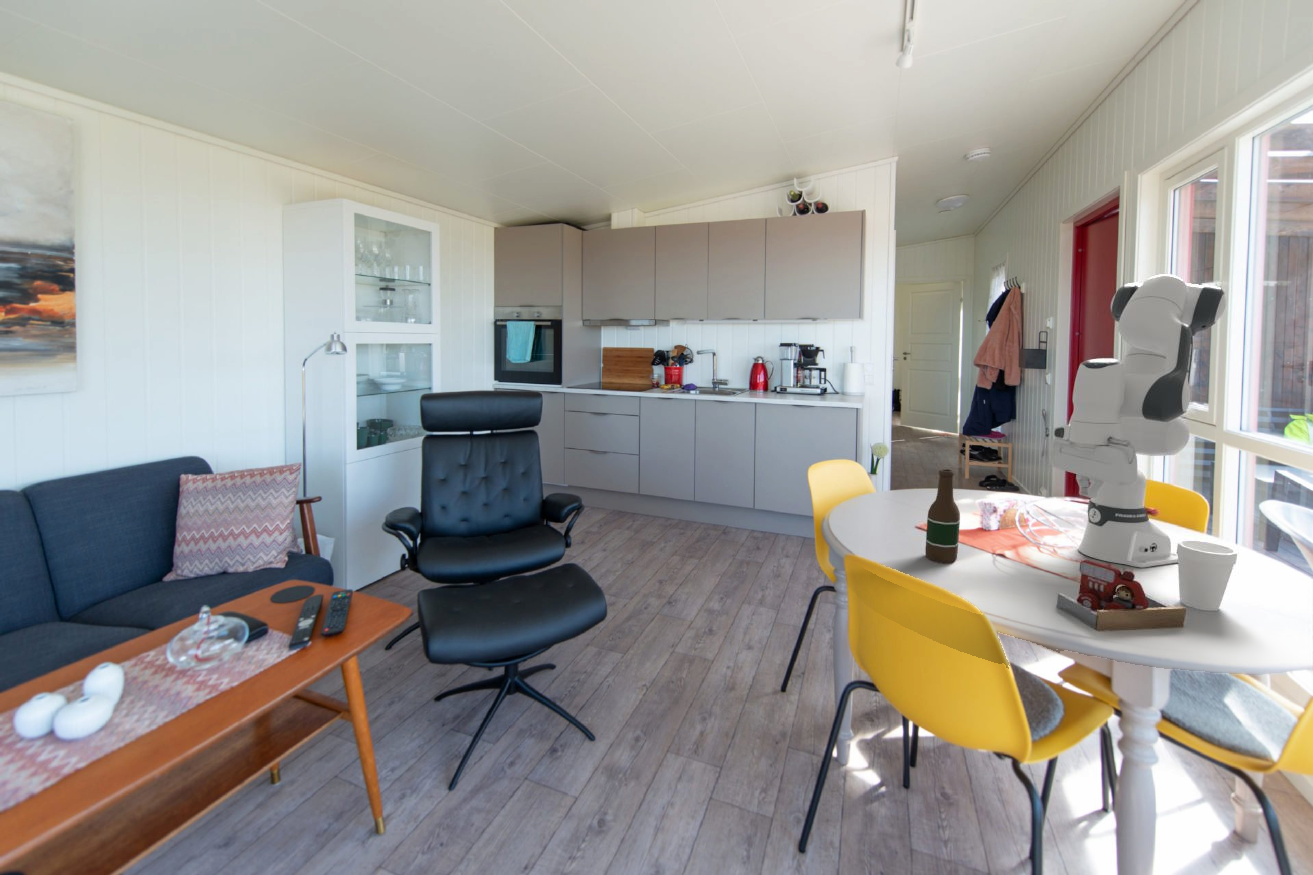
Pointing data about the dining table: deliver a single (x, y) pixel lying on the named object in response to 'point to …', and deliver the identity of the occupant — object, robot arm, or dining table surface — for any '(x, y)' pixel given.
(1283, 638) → the dining table surface
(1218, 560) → the foam cup
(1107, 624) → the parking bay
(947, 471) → the beer bottle
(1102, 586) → the toy fire truck
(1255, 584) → the dining table surface
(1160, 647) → the dining table surface
